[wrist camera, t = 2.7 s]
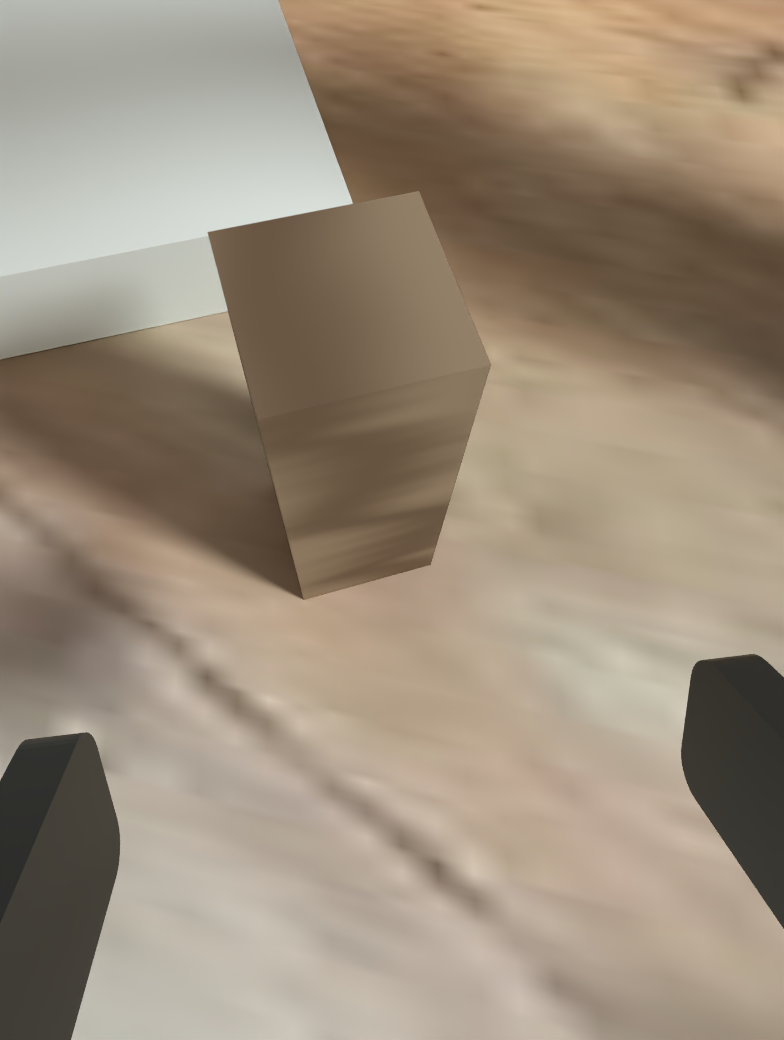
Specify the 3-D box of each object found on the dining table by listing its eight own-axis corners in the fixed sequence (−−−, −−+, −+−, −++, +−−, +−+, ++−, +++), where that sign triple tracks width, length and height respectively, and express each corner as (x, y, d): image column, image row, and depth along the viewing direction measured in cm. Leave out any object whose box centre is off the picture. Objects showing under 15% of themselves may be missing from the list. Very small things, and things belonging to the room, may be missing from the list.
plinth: (246, -25, 36) (233, -120, 32) (354, 284, 29) (354, 207, 25) (-181, 36, 33) (-249, -62, 29) (-174, 396, 26) (-262, 327, 22)
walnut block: (392, 452, 26) (418, 191, 15) (430, 564, 25) (491, 364, 13) (272, 482, 26) (207, 232, 14) (303, 599, 24) (257, 419, 13)
